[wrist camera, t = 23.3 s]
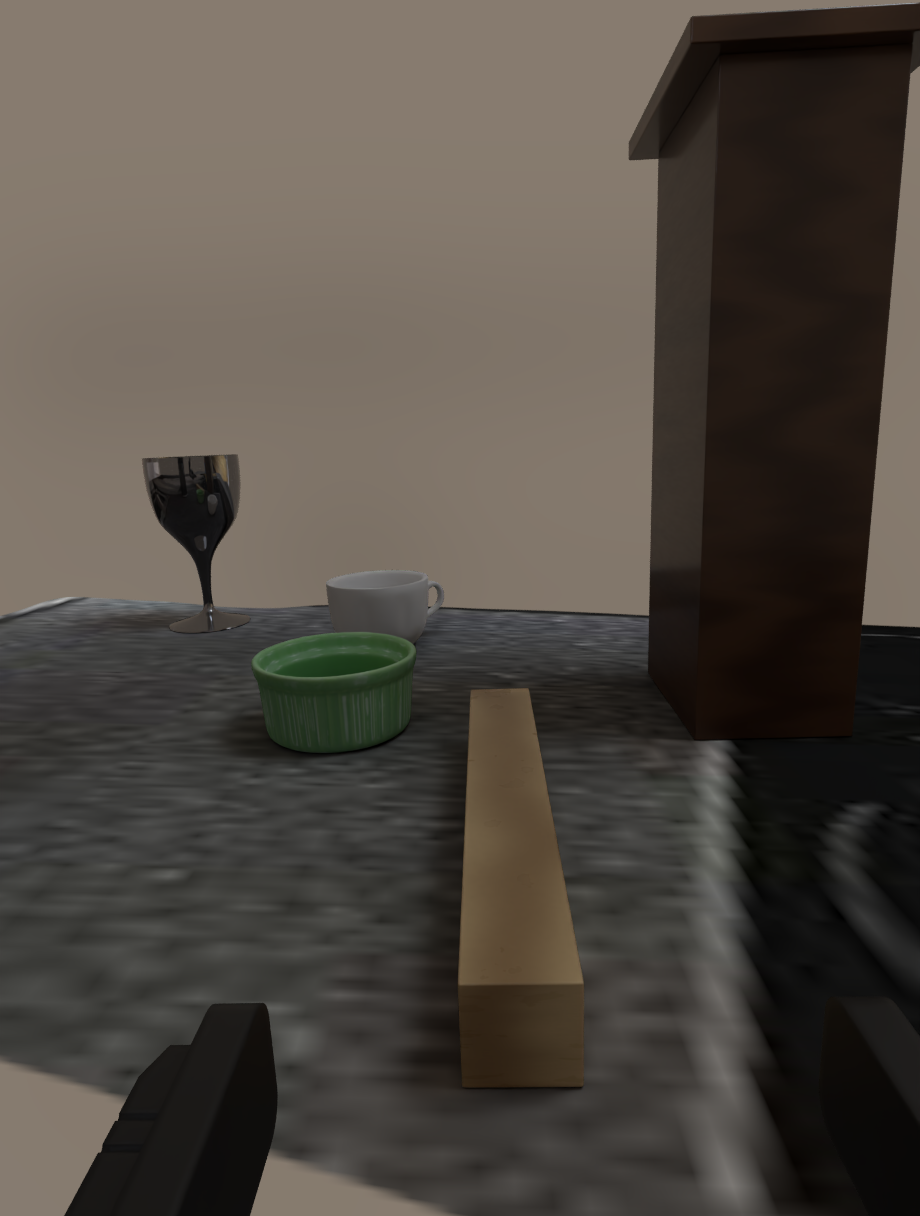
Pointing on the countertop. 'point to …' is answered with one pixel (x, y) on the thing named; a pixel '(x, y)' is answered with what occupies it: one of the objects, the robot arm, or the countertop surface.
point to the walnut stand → (770, 356)
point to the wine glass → (197, 519)
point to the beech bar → (514, 912)
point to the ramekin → (336, 690)
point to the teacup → (382, 602)
